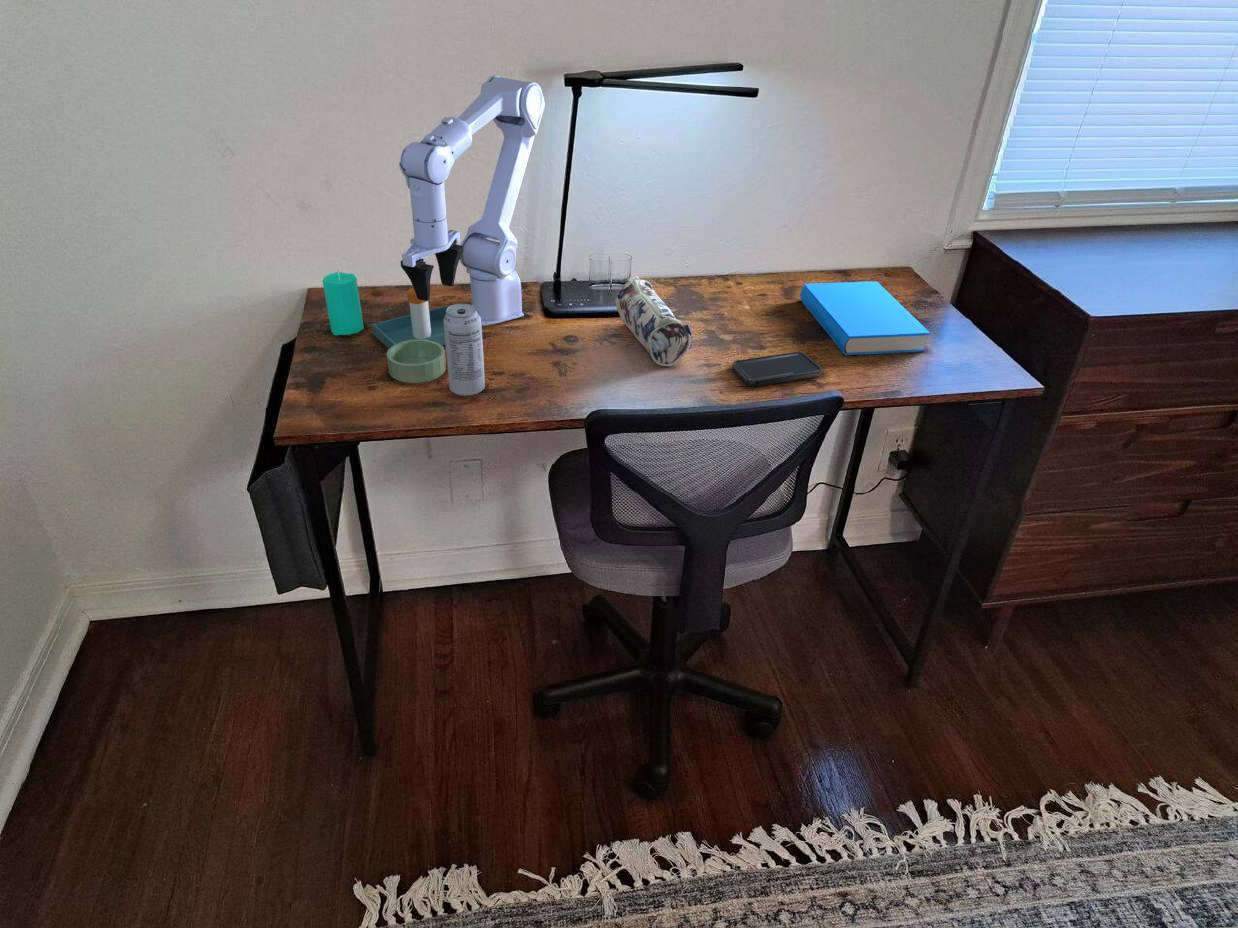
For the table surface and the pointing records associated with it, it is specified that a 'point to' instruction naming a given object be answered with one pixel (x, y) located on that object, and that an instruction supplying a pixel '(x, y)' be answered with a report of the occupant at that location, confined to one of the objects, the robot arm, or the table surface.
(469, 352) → the energy drink can
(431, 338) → the tray
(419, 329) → the glue stick
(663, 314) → the pencil case
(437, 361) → the green round bowl
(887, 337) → the book
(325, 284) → the candle
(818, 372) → the phone
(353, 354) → the table surface
